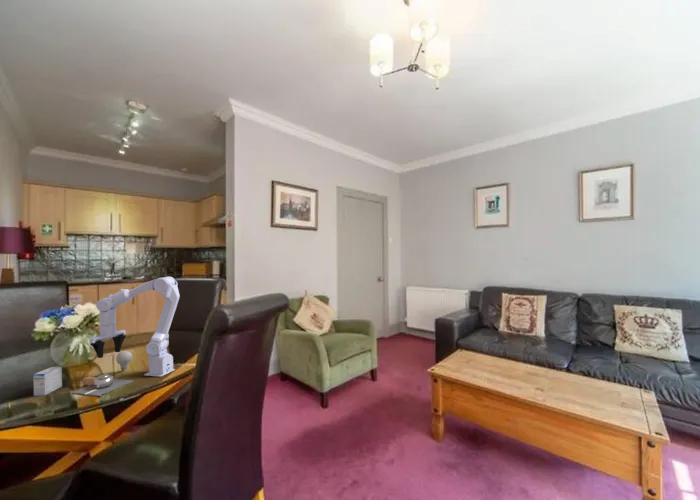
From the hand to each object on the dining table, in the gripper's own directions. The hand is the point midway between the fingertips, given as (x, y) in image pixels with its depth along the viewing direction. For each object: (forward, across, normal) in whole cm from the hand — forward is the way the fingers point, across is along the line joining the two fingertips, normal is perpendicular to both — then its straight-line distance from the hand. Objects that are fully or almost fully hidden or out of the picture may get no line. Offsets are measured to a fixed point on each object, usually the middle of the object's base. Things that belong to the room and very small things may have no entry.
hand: (109, 354), depth 138 cm
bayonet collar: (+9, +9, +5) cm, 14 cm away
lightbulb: (+10, -8, -2) cm, 13 cm away
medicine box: (+10, +16, -12) cm, 22 cm away
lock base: (+10, +9, +8) cm, 16 cm away
